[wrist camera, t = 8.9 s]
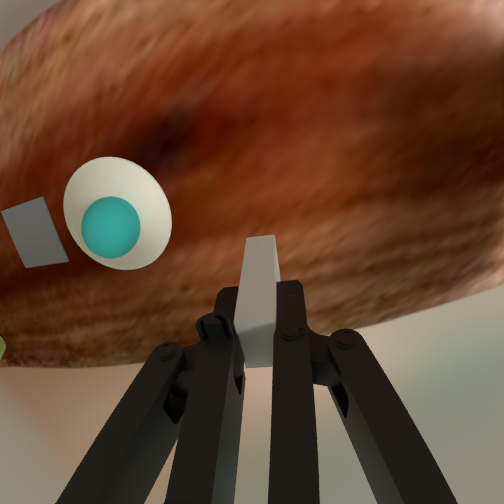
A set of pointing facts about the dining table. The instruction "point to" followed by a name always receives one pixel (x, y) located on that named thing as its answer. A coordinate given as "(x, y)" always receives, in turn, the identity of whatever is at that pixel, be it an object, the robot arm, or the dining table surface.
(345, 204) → the dining table surface
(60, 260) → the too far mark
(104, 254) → the ball
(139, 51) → the dining table surface
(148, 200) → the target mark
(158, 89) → the dining table surface
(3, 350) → the plant pot
